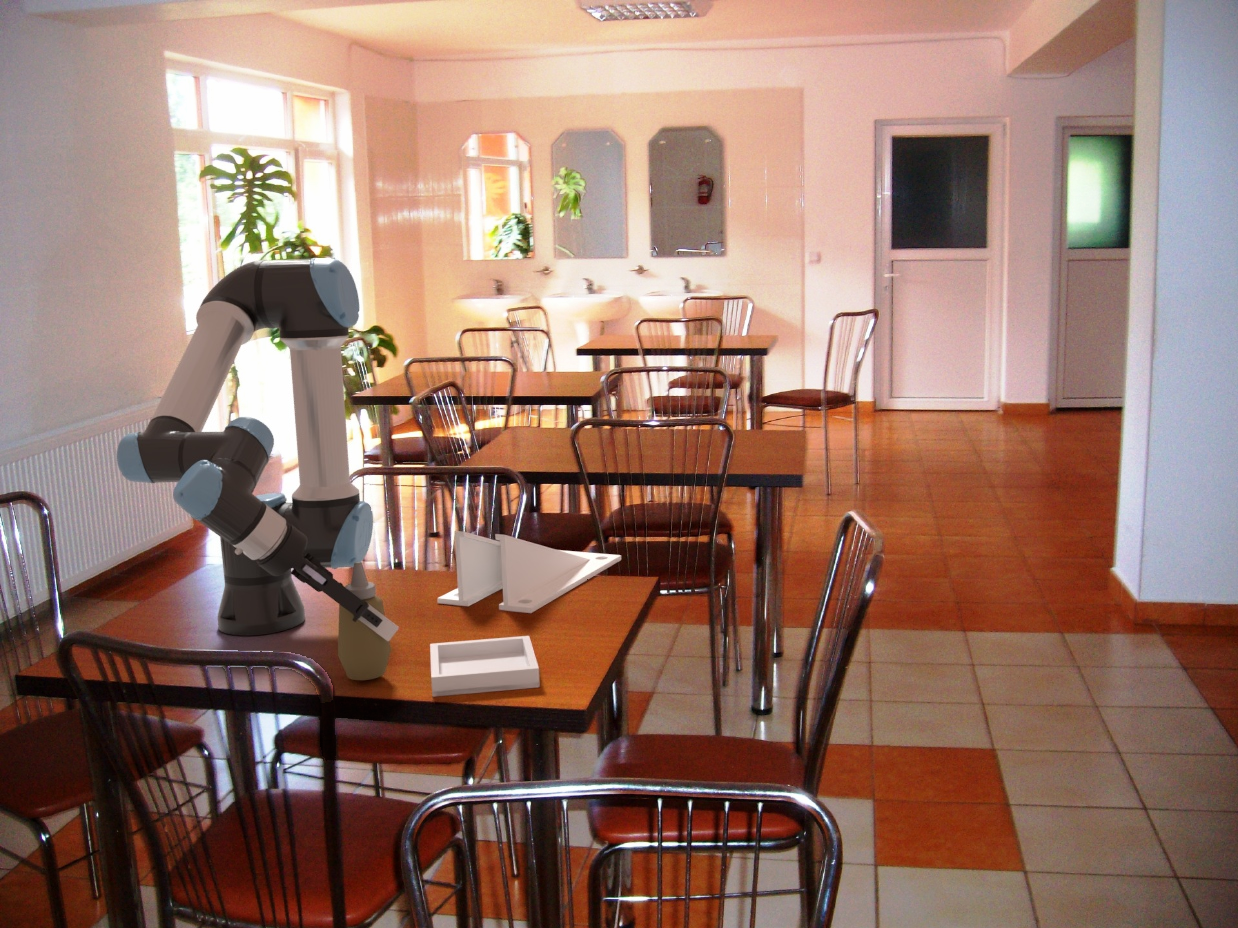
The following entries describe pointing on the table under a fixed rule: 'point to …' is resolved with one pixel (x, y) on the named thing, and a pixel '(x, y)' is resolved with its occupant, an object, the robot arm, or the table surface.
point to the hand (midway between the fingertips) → (385, 627)
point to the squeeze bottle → (362, 634)
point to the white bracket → (518, 571)
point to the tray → (483, 666)
